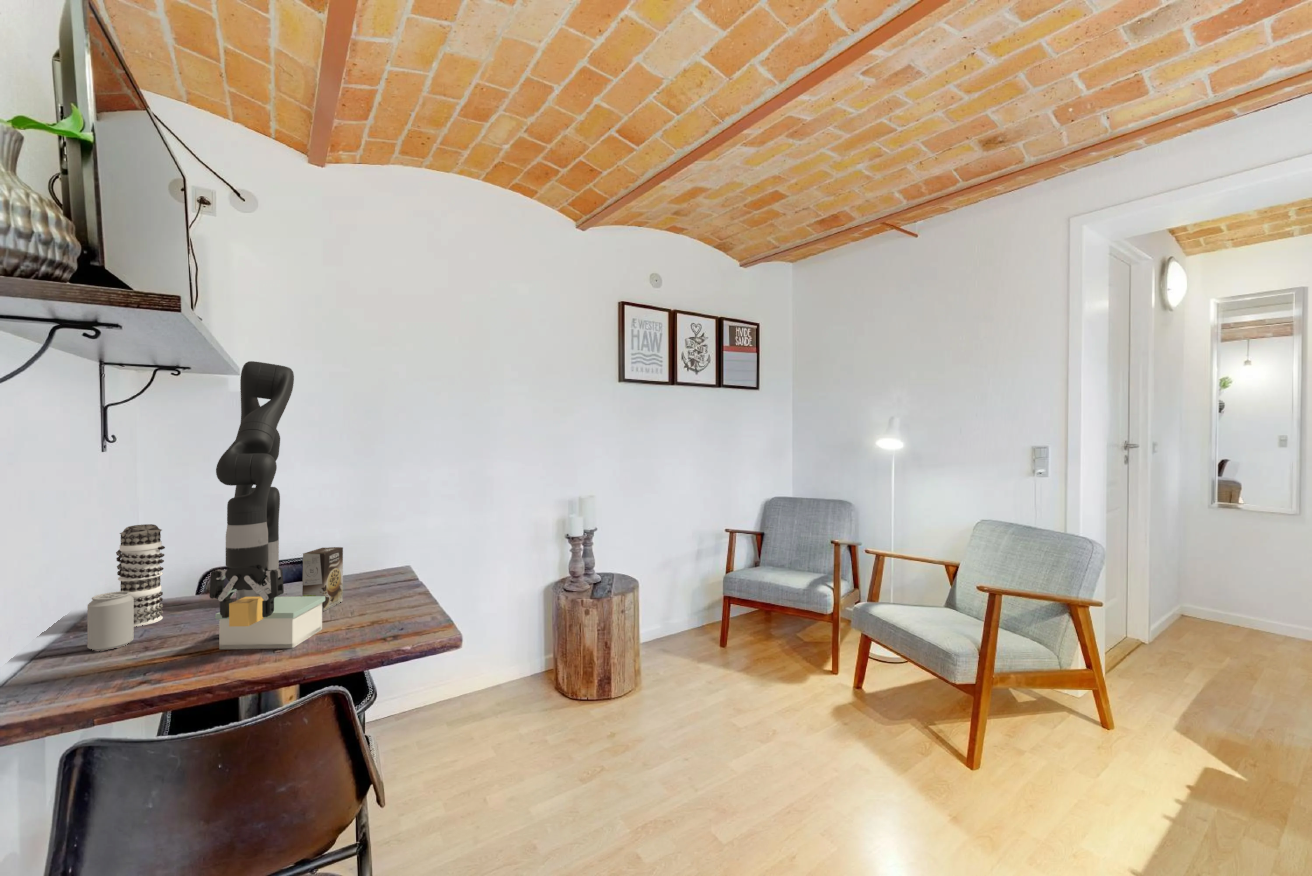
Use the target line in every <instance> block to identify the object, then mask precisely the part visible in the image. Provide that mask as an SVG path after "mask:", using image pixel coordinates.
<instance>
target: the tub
mask: <svg viewBox="0 0 1312 876" xmlns="http://www.w3.org/2000/svg"><path fill="white" fill-rule="evenodd" d="M218 620H219V622H218V623H219V627H218V628H219V629H218V630H219V632H218V635H219V639H218V640H219V645H218V646H219V650H255V649H256V650H257V649H258V650H259V649H260V650H261V649H262V650H263V649H264V650H265V649H266V650H267V649H294V648H295V647H297V646H298V645H300V644H302V643H303V642H304V641H306V640H308V639H309V638H311V637H312V636H313V635H316V634H317V633H319V632H321V630H323V611H322V603H320V604H319V605H317V606H315V607H313V608H311V609H309V610H308V611H306V612H304V613H302V614H300V615H298V616H296V617H295V618H268V619H262V620H260V621H258V622H256V623H254V624H252V625H250V626H231V627H229V619H218Z"/></svg>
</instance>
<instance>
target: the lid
mask: <svg viewBox="0 0 1312 876" xmlns="http://www.w3.org/2000/svg"><path fill="white" fill-rule="evenodd" d="M262 601H263V598H262V597H244V598H241V599H239V600H236V599H235V600H234V601H232V603H229V617H228V618H222V615H220V611H219V612H217V613H214V614H215V620H219V619H229V627H231V626H250V625H252V624H254V623H256V622H258V621H260V620H262V619H268V618H295V617H296V616H298V615H300V614H302V613H304V612H306V611H308V610H309V609H311V608H313V607H315V606H317V605H319V604H320V603H322V602H324V601H325V596H279V597H275V598H274V612H273V613H272V614H271V615H270V616H268V617H262Z"/></svg>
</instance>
